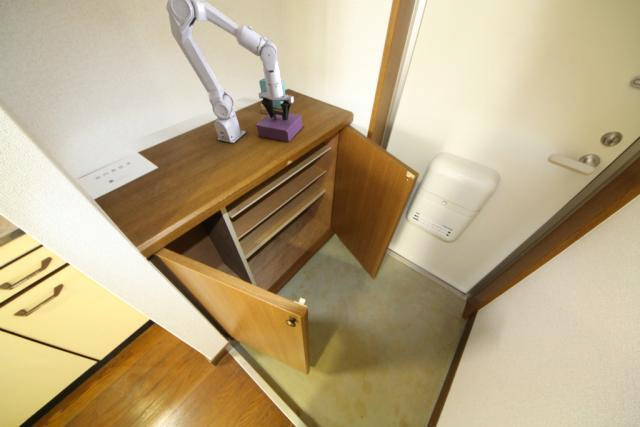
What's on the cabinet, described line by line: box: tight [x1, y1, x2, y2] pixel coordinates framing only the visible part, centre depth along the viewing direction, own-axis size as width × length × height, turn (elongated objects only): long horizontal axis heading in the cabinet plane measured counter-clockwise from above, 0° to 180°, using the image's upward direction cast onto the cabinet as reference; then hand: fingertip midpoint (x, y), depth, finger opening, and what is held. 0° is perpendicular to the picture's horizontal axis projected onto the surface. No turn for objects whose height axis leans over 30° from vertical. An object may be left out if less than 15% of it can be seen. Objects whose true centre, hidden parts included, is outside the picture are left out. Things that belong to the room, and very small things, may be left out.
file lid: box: [255, 109, 303, 132], centre depth 91 cm, size 14×14×4 cm
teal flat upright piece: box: [258, 77, 286, 110], centre depth 110 cm, size 12×4×12 cm, turn 59°
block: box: [259, 103, 268, 115], centre depth 108 cm, size 4×4×4 cm
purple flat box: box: [256, 117, 303, 143], centre depth 95 cm, size 13×14×5 cm
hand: (279, 118), depth 92 cm, fingers open, 6 cm apart
